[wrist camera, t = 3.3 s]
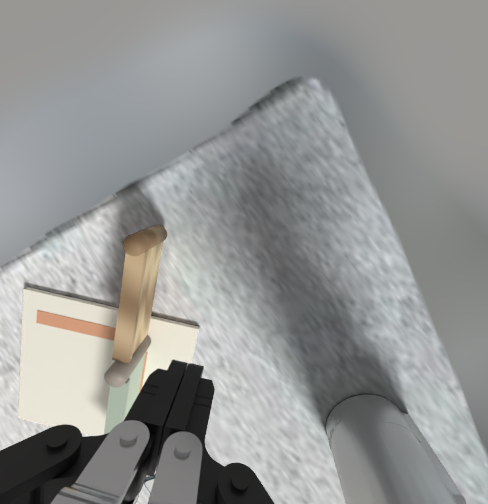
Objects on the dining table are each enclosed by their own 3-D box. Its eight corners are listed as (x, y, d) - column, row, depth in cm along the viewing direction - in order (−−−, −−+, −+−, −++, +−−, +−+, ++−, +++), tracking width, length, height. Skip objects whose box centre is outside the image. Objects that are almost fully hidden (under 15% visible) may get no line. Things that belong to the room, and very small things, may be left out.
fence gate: (150, 334, 31) (127, 367, 26) (134, 330, 31) (108, 362, 26) (168, 227, 28) (146, 237, 23) (150, 223, 28) (124, 232, 23)
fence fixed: (154, 332, 32) (126, 371, 26) (137, 435, 36) (108, 493, 29) (137, 328, 32) (105, 366, 25) (121, 431, 36) (90, 489, 29)
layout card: (199, 326, 32) (198, 329, 31) (173, 449, 36) (172, 454, 36) (27, 287, 32) (22, 289, 31) (22, 415, 36) (17, 419, 35)
